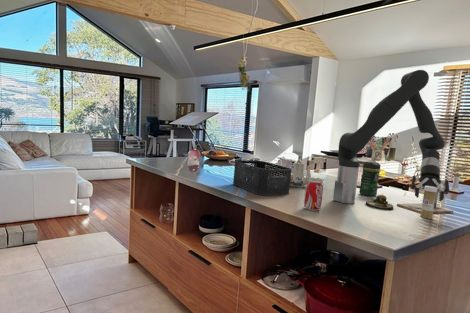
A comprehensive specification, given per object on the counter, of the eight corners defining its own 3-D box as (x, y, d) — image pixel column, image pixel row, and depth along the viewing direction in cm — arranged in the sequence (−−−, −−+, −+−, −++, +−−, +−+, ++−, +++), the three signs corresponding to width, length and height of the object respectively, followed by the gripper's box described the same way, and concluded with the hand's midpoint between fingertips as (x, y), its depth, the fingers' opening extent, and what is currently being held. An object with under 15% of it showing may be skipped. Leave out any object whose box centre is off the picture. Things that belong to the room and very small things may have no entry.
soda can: (311, 211, 132) (314, 182, 131) (299, 207, 138) (302, 179, 137) (324, 211, 135) (327, 182, 134) (312, 206, 141) (315, 179, 140)
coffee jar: (370, 197, 175) (375, 162, 173) (357, 193, 181) (361, 160, 179) (379, 195, 181) (383, 162, 179) (365, 192, 187) (369, 160, 185)
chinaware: (326, 190, 192) (330, 162, 192) (317, 191, 178) (322, 161, 178) (283, 182, 207) (286, 156, 207) (271, 182, 193) (275, 155, 193)
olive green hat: (360, 204, 156) (362, 189, 155) (378, 203, 161) (380, 188, 160) (380, 211, 145) (382, 194, 144) (399, 210, 150) (401, 194, 149)
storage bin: (292, 194, 164) (294, 168, 162) (260, 196, 154) (263, 168, 152) (259, 183, 188) (261, 160, 187) (230, 184, 178) (232, 160, 177)
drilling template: (422, 213, 145) (425, 194, 144) (396, 205, 158) (399, 187, 157) (453, 212, 153) (455, 194, 152) (426, 205, 166) (428, 187, 165)
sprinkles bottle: (419, 217, 139) (423, 186, 138) (421, 215, 142) (425, 185, 141) (431, 219, 136) (436, 188, 135) (433, 217, 139) (437, 187, 138)
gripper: (413, 162, 149) (411, 190, 140) (450, 166, 142) (450, 196, 133) (411, 172, 154) (409, 200, 145) (447, 176, 148) (446, 206, 139)
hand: (428, 198), depth 139 cm, fingers open, 8 cm apart
